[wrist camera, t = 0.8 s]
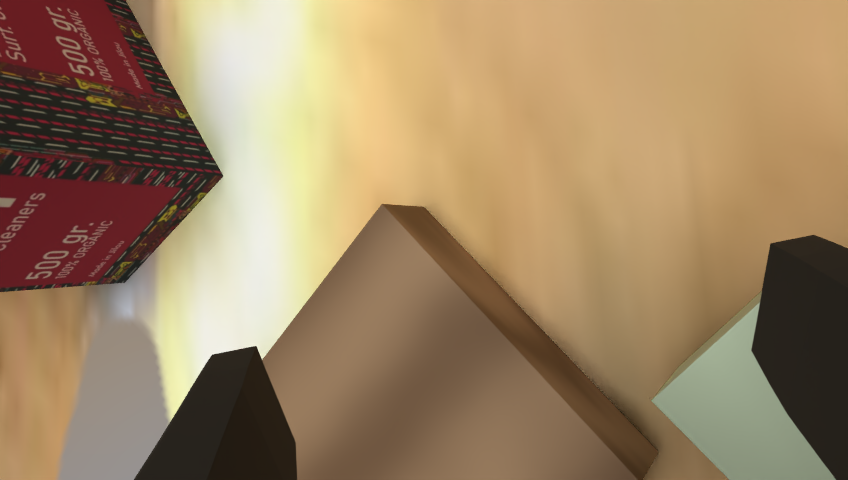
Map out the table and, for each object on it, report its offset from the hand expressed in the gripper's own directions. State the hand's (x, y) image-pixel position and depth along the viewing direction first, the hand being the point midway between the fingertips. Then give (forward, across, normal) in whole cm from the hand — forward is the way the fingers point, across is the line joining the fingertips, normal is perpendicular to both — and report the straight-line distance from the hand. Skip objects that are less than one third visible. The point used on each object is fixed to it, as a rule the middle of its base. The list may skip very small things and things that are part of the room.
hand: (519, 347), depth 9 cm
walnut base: (+10, +2, +14) cm, 17 cm away
